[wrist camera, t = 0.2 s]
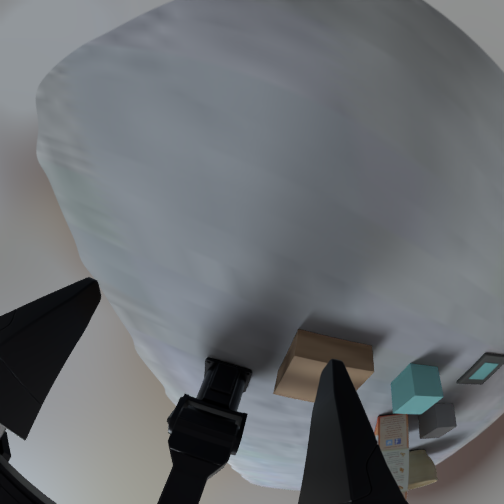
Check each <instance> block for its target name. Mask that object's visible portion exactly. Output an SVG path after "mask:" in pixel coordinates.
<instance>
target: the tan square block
mask: <svg viewBox="0 0 504 504" xmlns="http://www.w3.org/2000/svg"><path fill="white" fill-rule="evenodd" d="M331 359H338V360H341V361H343V363H344V365H345V367H346V369H347V371H348V374H349V376H350V378H351V380H352V383H353V385H354V387H355V389H356V390H357V389H358V388H359V387H360V386H361V385H362V384H363V383H364V382H365V381H366V380H367V379H368V378H369V377H370V376H371V375H372V374H373V372H374V363H373V351H372V346H370V345H366V344H361V343H356V342H351V341H347V340H342V339H338V338H334V337H329V336H325V335H321V334H317V333H313V332H309V331H305V330H301V329H298V331H297V333H296V335H295V337H294V339H293V342H292V344H291V346H290V348H289V350H288V352H287V354H286V356H285V358H284V360H283V362H282V364H281V366H280V368H279V370H278V374H277V379H276V384H275V388H274V393H273V394H276V395H280V396H285V397H289V398H294V399H299V400H304V401H309V402H314V403H315V398H316V394H317V389H318V385H319V380H320V375H321V372H322V370H323V369H324V368H325V366H326V365H327V364H328V362H329V361H330V360H331Z"/></svg>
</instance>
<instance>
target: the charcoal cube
mask: <svg viewBox="0 0 504 504" xmlns="http://www.w3.org/2000/svg"><path fill="white" fill-rule="evenodd" d="M418 420H419V433H420V439H426V438H439V437H441V436H442V435H444V434H446V433H447V432H449V431H450V430H452V429H453V428H455V427H456V426H457V425H456V418H455V412H454V406H453V404H440V403H435V404H434V405H433V406H431V407H430V408H429V409H427V410H426V411H425V412H423V413H422V414H420V415H419V416H418Z"/></svg>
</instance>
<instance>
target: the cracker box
mask: <svg viewBox="0 0 504 504" xmlns="http://www.w3.org/2000/svg"><path fill="white" fill-rule="evenodd" d="M374 434H375V437H376V439H377V442H378V444H379V446H380V449H381V451H382V454H383V456H384V458H385V461H386V463H387V465H388V467H389V469H390V471H391V473H392V475H393V477H394V479H395V481H396V483H397V485H398V486H399V488H400V490H401V492H402V494H403V496H404V498H405V499H406V501H407V494H408V493H407V492H408V476H409V429H408V414H393V415H385V416H378V419H377V424H376V428H375V432H374Z"/></svg>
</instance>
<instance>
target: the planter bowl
mask: <svg viewBox="0 0 504 504" xmlns="http://www.w3.org/2000/svg"><path fill="white" fill-rule="evenodd" d="M436 481H437V475H436V468H435V465H434V463H433V461H432V460H431V458H430V457H429V456H428V455H427V454H426V451H425V450H415V451H410V452H409V476H408V490H410V489H414V488H418V487H422V486H425V485H428V484H431V483H434V482H436Z"/></svg>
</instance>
